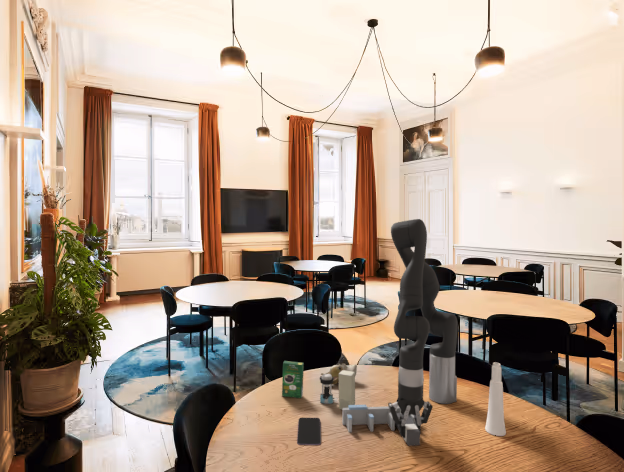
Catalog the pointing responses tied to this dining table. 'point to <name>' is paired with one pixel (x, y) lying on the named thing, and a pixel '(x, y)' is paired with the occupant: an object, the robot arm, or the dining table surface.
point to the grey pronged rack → (368, 416)
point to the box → (346, 389)
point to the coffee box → (292, 379)
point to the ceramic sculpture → (338, 368)
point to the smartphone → (309, 431)
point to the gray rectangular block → (410, 432)
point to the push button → (326, 389)
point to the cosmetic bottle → (495, 404)
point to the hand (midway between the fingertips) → (409, 436)
